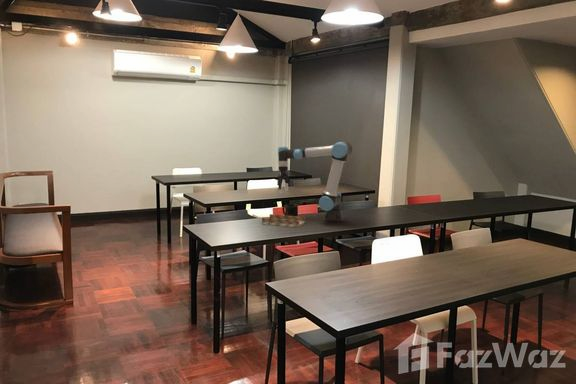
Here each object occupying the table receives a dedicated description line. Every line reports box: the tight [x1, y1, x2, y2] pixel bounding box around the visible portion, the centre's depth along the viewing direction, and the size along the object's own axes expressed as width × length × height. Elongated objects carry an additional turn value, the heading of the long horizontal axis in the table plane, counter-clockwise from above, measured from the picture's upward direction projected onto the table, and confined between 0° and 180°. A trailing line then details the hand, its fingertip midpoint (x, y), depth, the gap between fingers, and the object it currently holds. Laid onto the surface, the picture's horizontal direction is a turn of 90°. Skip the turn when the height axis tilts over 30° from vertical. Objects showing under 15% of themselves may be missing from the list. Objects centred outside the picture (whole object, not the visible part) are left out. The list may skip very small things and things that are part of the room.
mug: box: [281, 203, 299, 216], centre depth 380 cm, size 11×15×12 cm
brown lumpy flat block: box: [261, 213, 306, 228], centre depth 363 cm, size 30×16×5 cm, turn 68°
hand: (283, 192), depth 378 cm, fingers open, 13 cm apart
